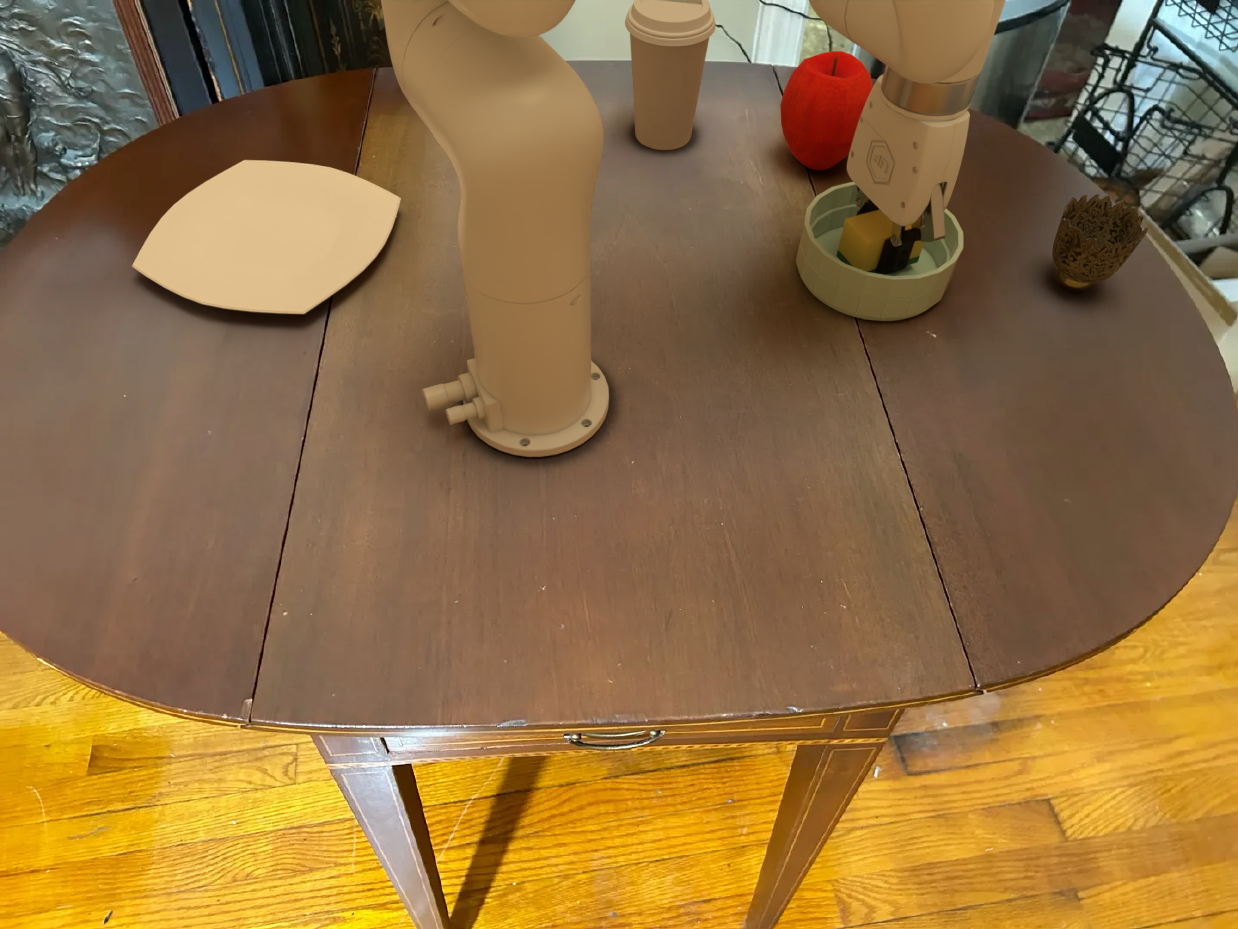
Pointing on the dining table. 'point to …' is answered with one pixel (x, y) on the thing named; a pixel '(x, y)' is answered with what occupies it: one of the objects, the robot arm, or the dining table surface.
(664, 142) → the coffee cup
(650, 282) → the dining table surface
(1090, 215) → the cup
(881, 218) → the sponge
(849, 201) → the bowl
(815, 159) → the apple
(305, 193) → the plate
